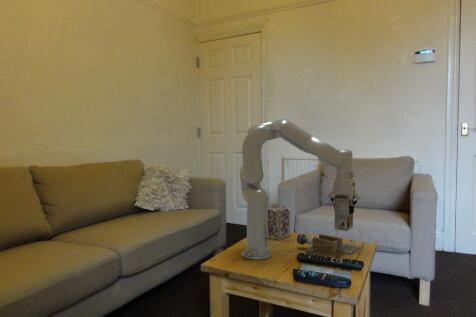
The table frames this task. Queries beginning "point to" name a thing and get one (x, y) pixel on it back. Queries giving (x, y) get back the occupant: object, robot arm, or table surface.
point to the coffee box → (342, 214)
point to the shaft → (304, 239)
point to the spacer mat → (349, 248)
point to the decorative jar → (278, 222)
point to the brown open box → (326, 246)
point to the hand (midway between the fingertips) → (343, 212)
